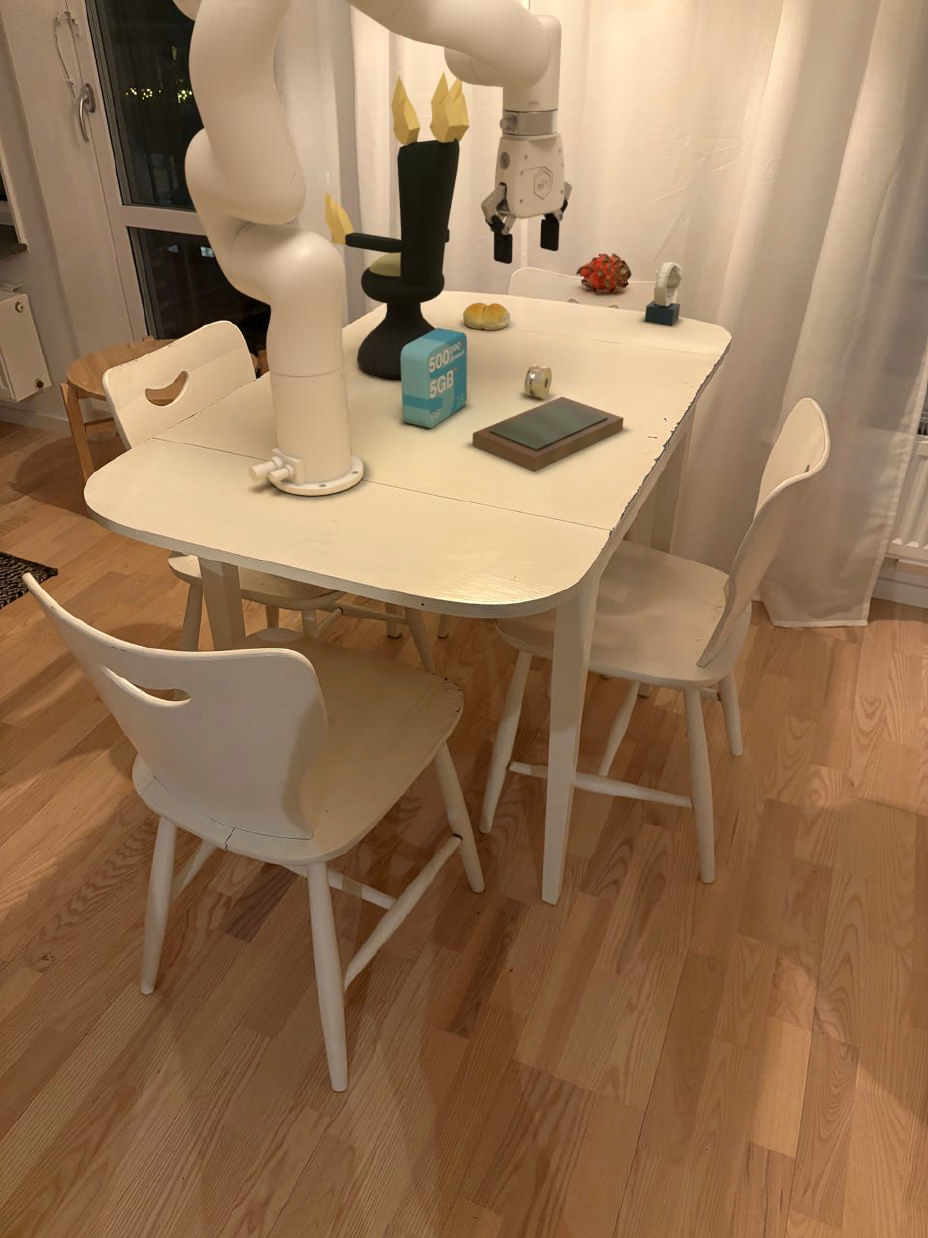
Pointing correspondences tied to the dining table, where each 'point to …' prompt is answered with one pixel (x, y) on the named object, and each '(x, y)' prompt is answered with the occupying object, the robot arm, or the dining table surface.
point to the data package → (434, 377)
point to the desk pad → (547, 433)
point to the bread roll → (486, 316)
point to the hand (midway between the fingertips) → (526, 255)
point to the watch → (665, 295)
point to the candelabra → (410, 227)
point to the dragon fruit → (605, 273)
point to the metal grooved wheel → (538, 381)
